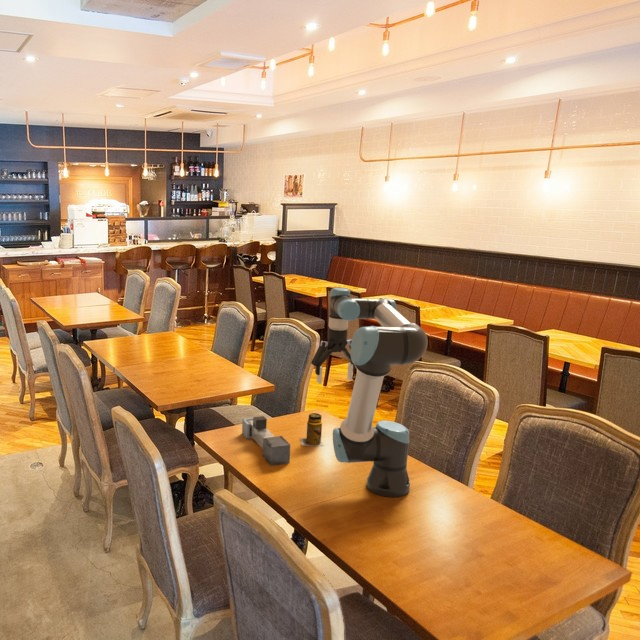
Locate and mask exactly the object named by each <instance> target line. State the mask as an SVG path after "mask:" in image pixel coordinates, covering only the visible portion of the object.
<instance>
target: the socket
mask: <svg viewBox="0 0 640 640" xmlns="http://www.w3.org/2000/svg"><path fill="white" fill-rule="evenodd" d="M249 420H253V417H249V418H243V419H242V425H241V427H242V431H241V434H242V435H243V437H245V438H246V440H249V439H250V440H251V439H253V438H252V437H251V436H250V434H249V433H250V424H249V423H248V421H249Z"/></svg>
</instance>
